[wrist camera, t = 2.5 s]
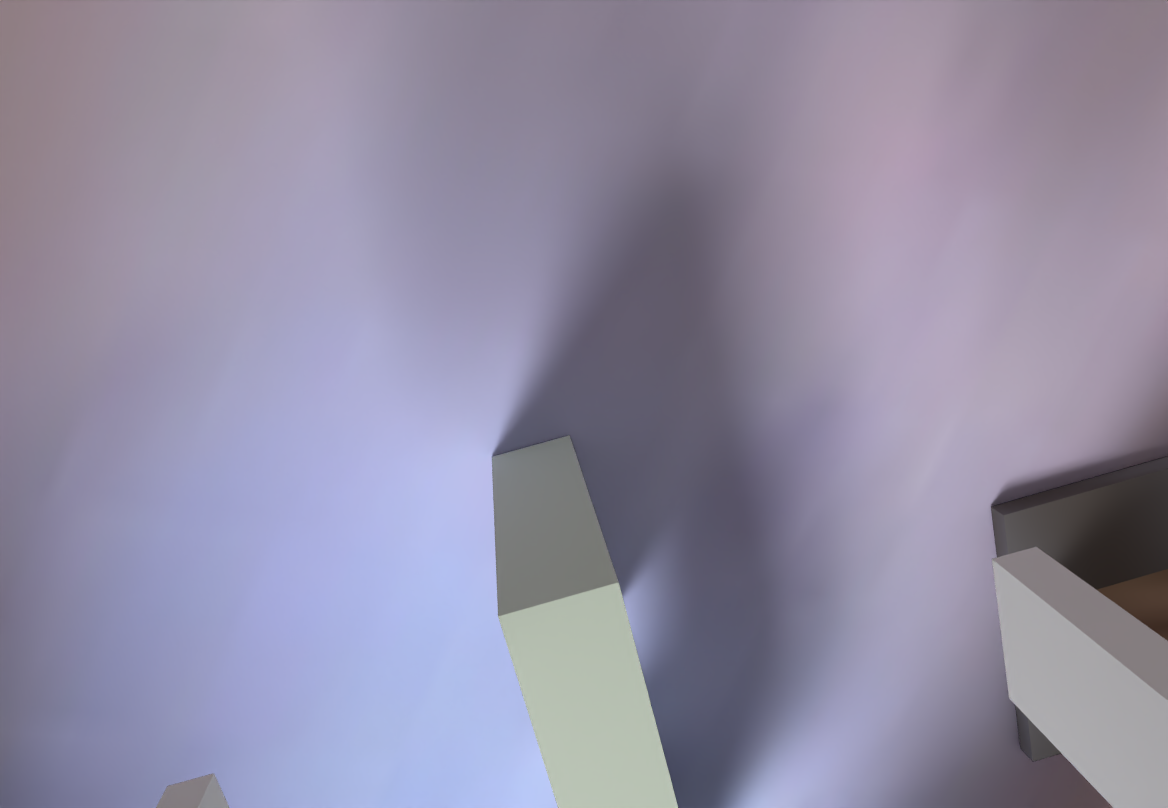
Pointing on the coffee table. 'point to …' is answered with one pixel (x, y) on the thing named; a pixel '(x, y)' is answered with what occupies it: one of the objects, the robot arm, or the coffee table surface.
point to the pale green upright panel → (572, 636)
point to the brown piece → (1097, 547)
